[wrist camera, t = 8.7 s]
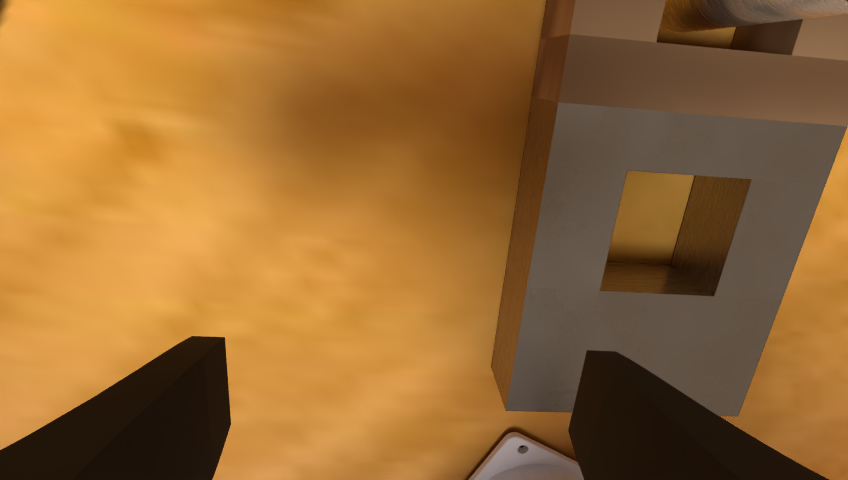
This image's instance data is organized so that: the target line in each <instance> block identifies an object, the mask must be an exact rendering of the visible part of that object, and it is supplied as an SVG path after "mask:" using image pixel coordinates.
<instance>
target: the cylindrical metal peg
mask: <svg viewBox="0 0 848 480" xmlns="http://www.w3.org/2000/svg"><path fill="white" fill-rule="evenodd" d="M841 14H848V0H666V2H665V6H664V10H663V15H662V19H661V24H660V27H662V28H663V29H665V30H667V31H670V32H674V33H686V32H695V31H704V30H712V29H721V28H730V27H738V26H747V25H755V24H764V23H773V22H781V21H790V20H798V19H807V18H816V17H824V16H833V15H841Z"/></svg>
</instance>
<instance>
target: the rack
mask: <svg viewBox="0 0 848 480" xmlns="http://www.w3.org/2000/svg"><path fill="white" fill-rule="evenodd" d="M665 2H666V0H547V1H546V8H545V14H544V21H543V27H542V34H541V41H540V47H539V54H538V60H537V67H536V73H535V80H534V87H533V93H532V97H535V98H540V99H545V100H549V101H554V102H559V103H571V104H583V105H595V106H607V107H619V108H632V109H644V110H656V111H668V112H680V113H692V114H704V115H717V116H729V117H741V118H753V119H765V120H777V121H789V122H802V123H814V124H826V125H838V126H847V125H848V14H841V15H833V16H824V17H816V18H807V19H798V20H790V21H781V22H773V23H764V24H755V25H747V26H738V27H737V28H736V32H735V35H734V39H733V43H732V46H731V49H721V48H710V47H700V46H689V45H679V44H668V43H658V42H656V41H657V37H658V32H659V28H660V24H661V19H662V15H663V10H664V6H665Z"/></svg>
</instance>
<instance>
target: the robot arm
mask: <svg viewBox="0 0 848 480" xmlns="http://www.w3.org/2000/svg"><path fill="white" fill-rule="evenodd" d="M230 425H231V418H230V404H229V390H228V376H227V362H226V348H225V337H200V336H192V337H190V338H188V339H186V340H184V341H182V342H181V343H179V344H177V345H176V346H174V347H172V348H171V349H169V350H168V351H166V352H164V353H163V354H161V355H160V356H158V357H157V358H155V359H154V360H152V361H150V362H149V363H147V364H146V365H144V366H143V367H141V368H139V369H138V370H136V371H135V372H133V373H132V374H130V375H128V376H127V377H125V378H124V379H122V380H120V381H119V382H117V383H116V384H114V385H112V386H111V387H109V388H108V389H106V390H104V391H103V392H101V393H100V394H98V395H96V396H95V397H93V398H92V399H90V400H88V401H86V402H85V403H83V404H81V405H80V406H78V407H76V408H74V409H73V410H71V411H69V412H67V413H66V414H64V415H62V416H61V417H59V418H57V419H55V420H54V421H52V422H50V423H49V424H47V425H45V426H43V427H42V428H40V429H38V430H36V431H35V432H33V433H31V434H30V435H28V436H26V437H24V438H22V439H21V440H19V441H17V442H15V443H13V444H11V445H9V446H8V447H6V448H4V449H2V450H0V480H212V478H213V476H214V474H215V471H216V468H217V465H218V462H219V459H220V456H221V453H222V450H223V447H224V444H225V441H226V438H227V435H228V431H229V428H230ZM568 431H569V434H570V438H571V441H572V444H573V448H574V451H575V454H576V458H577V460H578V462H577V461H575V460H573V459H571V458H569V457H566V456H564V455H562V454H560V453H558V452H556V451H554V450H552V449H550V448H548V447H546V446H544V445H542V444H540V443H538V442H536V441H534V440H532V439H530V438H528V437H526V436H524V435H522V434H520V433H517V432H511V433H509V434H507V435H506V436H505V437H504V438H503V439H502V440H501V442H500V443H499V444H498V445H497V446H496V447H495V449H494V450H493V451H492V452H491V453H490V455H489V456H488V457H487V458H486V459H485V461H484V462H483V463H482V464H481V465H480V467H479V468H478V469H477V470H476V471H475V473H474V474H473V475H472V476H471V477H470V479H469V480H829V479H827V478H825V477H823V476H821V475H819V474H817V473H815V472H813V471H811V470H810V469H808V468H806V467H804V466H802V465H801V464H799V463H797V462H795V461H793V460H792V459H790V458H788V457H786V456H784V455H783V454H781V453H779V452H778V451H776V450H774V449H772V448H771V447H769V446H767V445H766V444H764V443H762V442H761V441H759V440H757V439H756V438H754V437H752V436H750V435H749V434H747V433H745V432H744V431H742V430H740V429H739V428H737V427H736V426H734V425H732V424H731V423H729V422H728V421H726V420H724V419H723V418H721V417H720V416H718V415H716V414H715V413H713V412H712V411H710V410H708V409H707V408H705V407H704V406H702V405H701V404H699V403H698V402H696V401H694V400H693V399H691V398H690V397H688V396H687V395H685V394H684V393H682V392H681V391H679V390H678V389H676V388H675V387H673V386H671V385H670V384H668V383H667V382H665V381H664V380H662V379H661V378H659V377H658V376H656V375H655V374H653V373H651V372H650V371H648V370H647V369H645V368H644V367H642V366H640V365H639V364H637V363H636V362H634V361H632V360H631V359H629V358H627V357H625V356H623V355H622V354H620V353H618V352H616V351H594V350H587V352H586V356H585V360H584V365H583V369H582V373H581V378H580V382H579V386H578V391H577V395H576V399H575V404H574V408H573V413H572V417H571V421H570V426H569V430H568ZM522 445H525V446H524V447H521V448H519V447H520V446H522Z"/></svg>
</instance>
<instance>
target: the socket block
mask: <svg viewBox="0 0 848 480" xmlns="http://www.w3.org/2000/svg"><path fill="white" fill-rule="evenodd" d="M846 129H847V126H838V125H826V124H814V123H802V122H789V121H777V120H765V119H753V118H741V117H729V116H717V115H704V114H692V113H680V112H668V111H656V110H644V109H632V108H619V107H607V106H595V105H583V104H571V103H559V102H554V101H549V100H545V99H540V98H535V97H532V102H531V108H530V115H529V121H528V128H527V134H526V141H525V148H524V154H523V161H522V167H521V174H520V180H519V187H518V193H517V200H516V207H515V213H514V220H513V226H512V233H511V239H510V246H509V253H508V259H507V266H506V272H505V279H504V285H503V292H502V298H501V305H500V312H499V318H498V325H497V331H496V338H495V344H494V351H493V358H492V364H491V368H492V371H493V374H494V377H495V380H496V383H497V386H498V389H499V392H500V395H501V398H502V401H503V404H504V407H505V410H506V411H535V412H573V408H574V404H575V399H576V395H577V391H578V386H579V382H580V378H581V373H582V369H583V365H584V360H585V356H586V352H587V350H594V351H616V352H618V353H620V354H622V355H623V356H625V357H627V358H629V359H631V360H632V361H634V362H636V363H637V364H639V365H640V366H642V367H644V368H645V369H647V370H648V371H650V372H651V373H653V374H655V375H656V376H658V377H659V378H661V379H662V380H664V381H665V382H667V383H668V384H670V385H671V386H673V387H675V388H676V389H678V390H679V391H681V392H682V393H684V394H685V395H687V396H688V397H690V398H691V399H693V400H694V401H696V402H698V403H699V404H701V405H702V406H704V407H705V408H707V409H708V410H710V411H712V412H713V413H715V414H716V415H718V416H738V415H739V413H740V410H741V407H742V405H743V402H744V399H745V397H746V394H747V391H748V389H749V386H750V383H751V381H752V378H753V375H754V373H755V370H756V368H757V365H758V362H759V360H760V357H761V354H762V352H763V349H764V346H765V344H766V341H767V338H768V336H769V333H770V330H771V328H772V325H773V322H774V320H775V317H776V314H777V312H778V309H779V306H780V304H781V301H782V298H783V296H784V293H785V291H786V288H787V285H788V283H789V280H790V277H791V275H792V272H793V269H794V267H795V264H796V261H797V259H798V256H799V253H800V251H801V248H802V245H803V243H804V240H805V237H806V235H807V232H808V229H809V227H810V224H811V221H812V219H813V216H814V214H815V211H816V208H817V206H818V203H819V200H820V198H821V195H822V192H823V190H824V187H825V184H826V182H827V179H828V176H829V174H830V171H831V168H832V166H833V163H834V160H835V158H836V155H837V152H838V150H839V147H840V145H841V142H842V139H843V137H844V134H845V131H846ZM627 171H641V172H655V173H669V174H684V175H696V176H695V179H694V183H693V187H692V190H691V194H690V197H689V201H688V204H687V208H686V212H685V215H684V219H683V222H682V226H681V229H680V233H679V237H678V240H677V244H676V247H675V251H674V254H673V258H672V262H671V265H660V264H641V263H622V262H606V261H607V256H608V252H609V247H610V243H611V239H612V234H613V230H614V226H615V221H616V217H617V213H618V208H619V204H620V200H621V195H622V191H623V186H624V182H625V178H626V173H627Z"/></svg>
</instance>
